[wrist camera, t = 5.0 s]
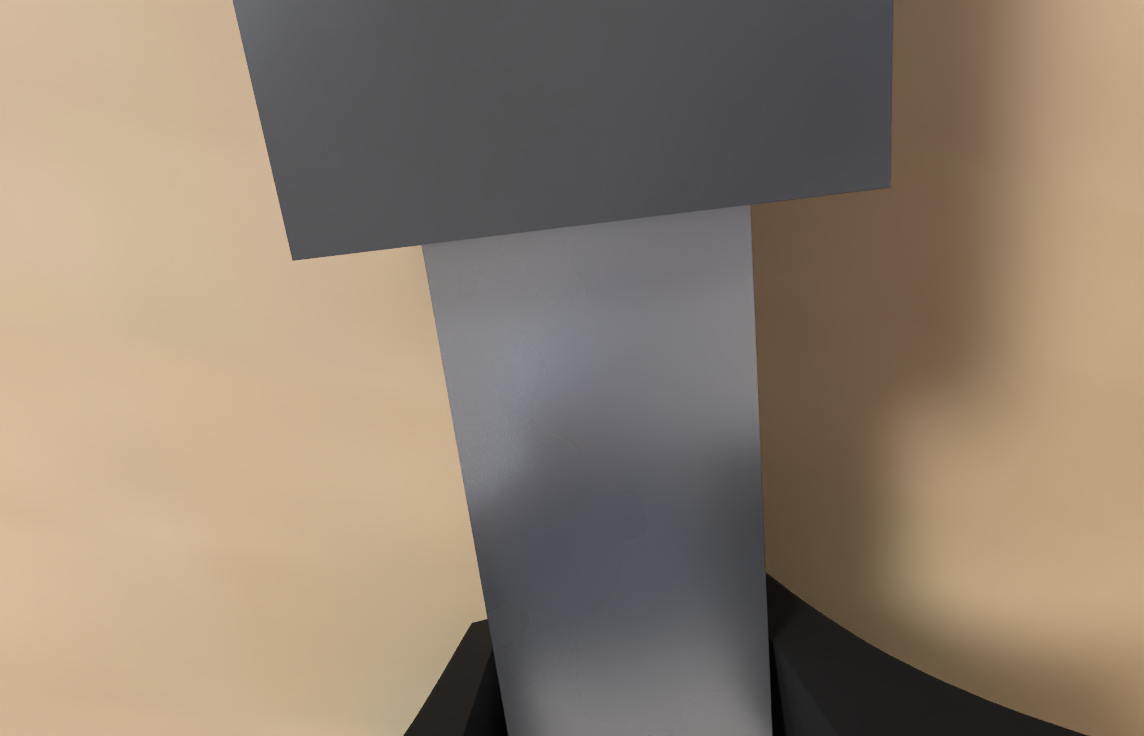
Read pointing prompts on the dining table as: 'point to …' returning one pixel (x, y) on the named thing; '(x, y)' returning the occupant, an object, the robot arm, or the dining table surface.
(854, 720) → the robot arm
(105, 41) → the dining table surface
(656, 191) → the dark grey rectangular bar
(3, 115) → the dining table surface
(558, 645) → the grey square bar
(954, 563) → the dining table surface
